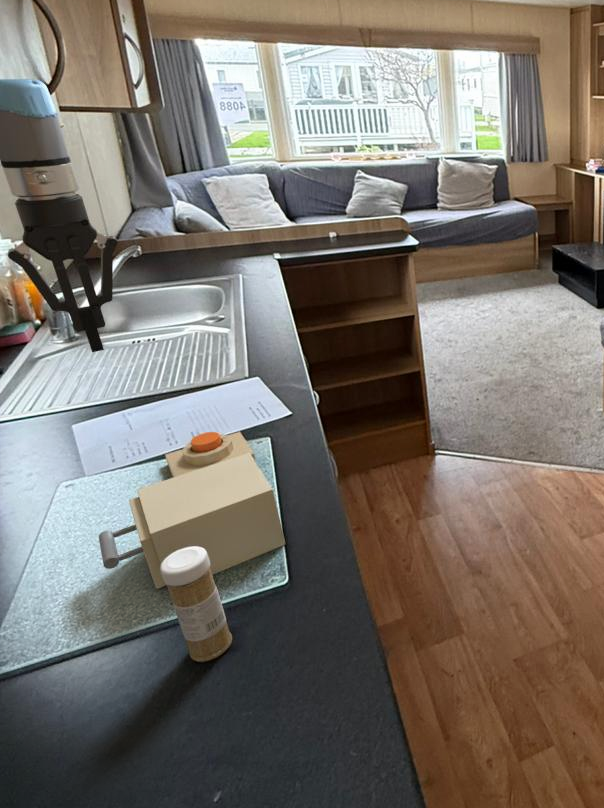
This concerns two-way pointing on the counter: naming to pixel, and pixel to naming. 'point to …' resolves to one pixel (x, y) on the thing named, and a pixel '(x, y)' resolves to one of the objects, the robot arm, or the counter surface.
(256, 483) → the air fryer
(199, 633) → the sprinkles bottle
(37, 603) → the counter surface
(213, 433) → the button
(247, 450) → the panel
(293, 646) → the counter surface
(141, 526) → the pull-out drawer
